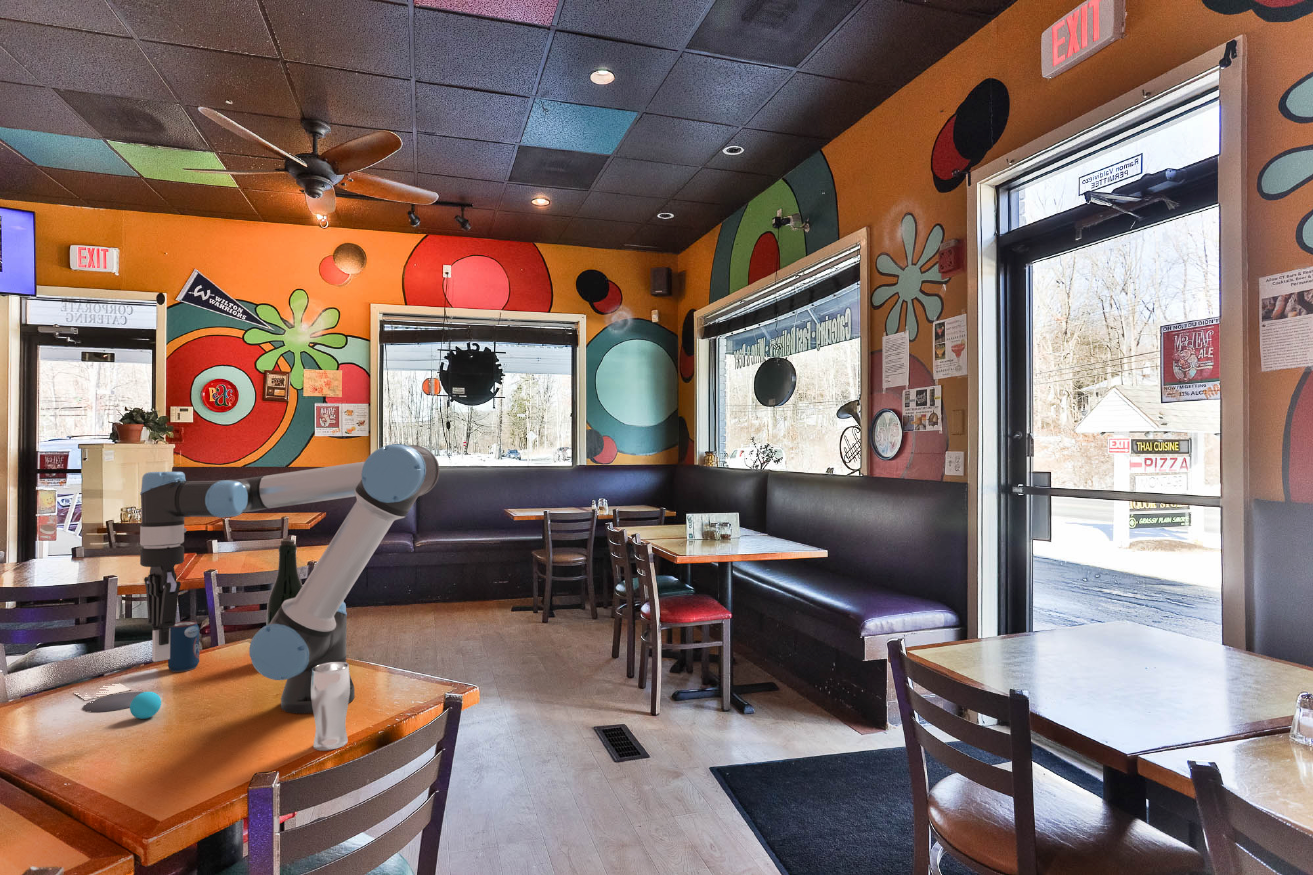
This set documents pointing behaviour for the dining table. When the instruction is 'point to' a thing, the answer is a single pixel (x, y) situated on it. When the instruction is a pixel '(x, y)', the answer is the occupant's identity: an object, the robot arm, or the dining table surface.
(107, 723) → the dining table surface
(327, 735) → the beer glass
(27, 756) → the dining table surface
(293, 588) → the beer bottle
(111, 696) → the grey flat disc
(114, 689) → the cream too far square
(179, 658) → the soda can
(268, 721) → the dining table surface
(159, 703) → the ball
